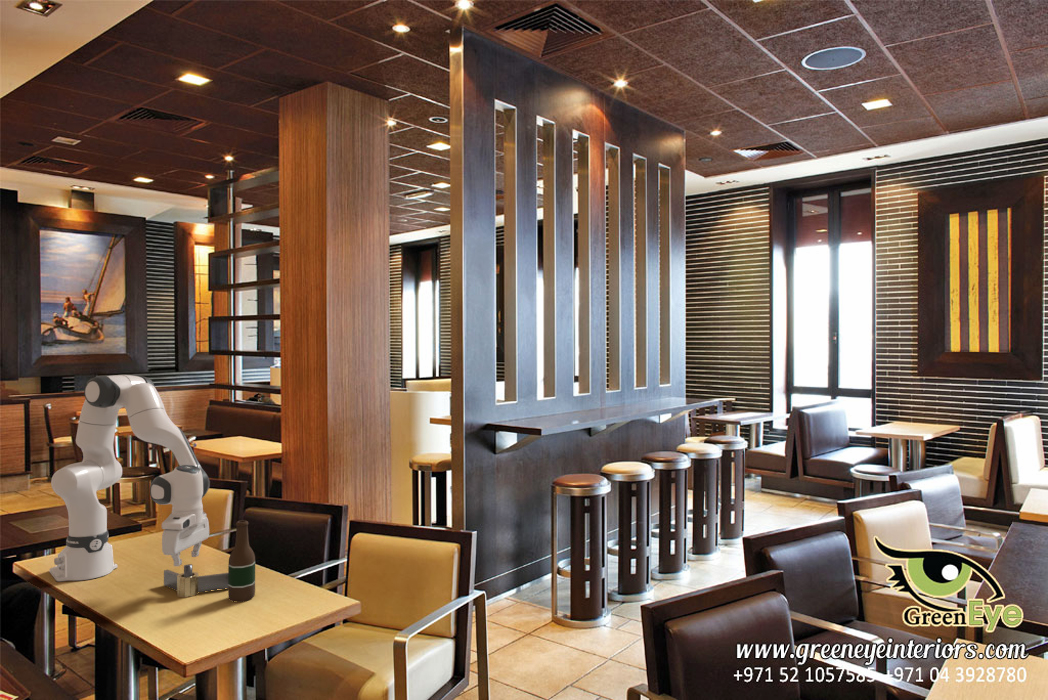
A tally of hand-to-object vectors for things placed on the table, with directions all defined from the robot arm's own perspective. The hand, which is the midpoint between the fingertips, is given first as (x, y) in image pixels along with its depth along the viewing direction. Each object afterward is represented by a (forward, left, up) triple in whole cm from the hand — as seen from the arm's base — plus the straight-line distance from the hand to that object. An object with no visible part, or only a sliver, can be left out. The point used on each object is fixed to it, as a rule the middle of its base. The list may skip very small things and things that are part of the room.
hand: (186, 560), depth 218 cm
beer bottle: (+17, +8, -11) cm, 22 cm away
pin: (0, 0, -11) cm, 11 cm away
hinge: (-3, +5, -10) cm, 12 cm away
